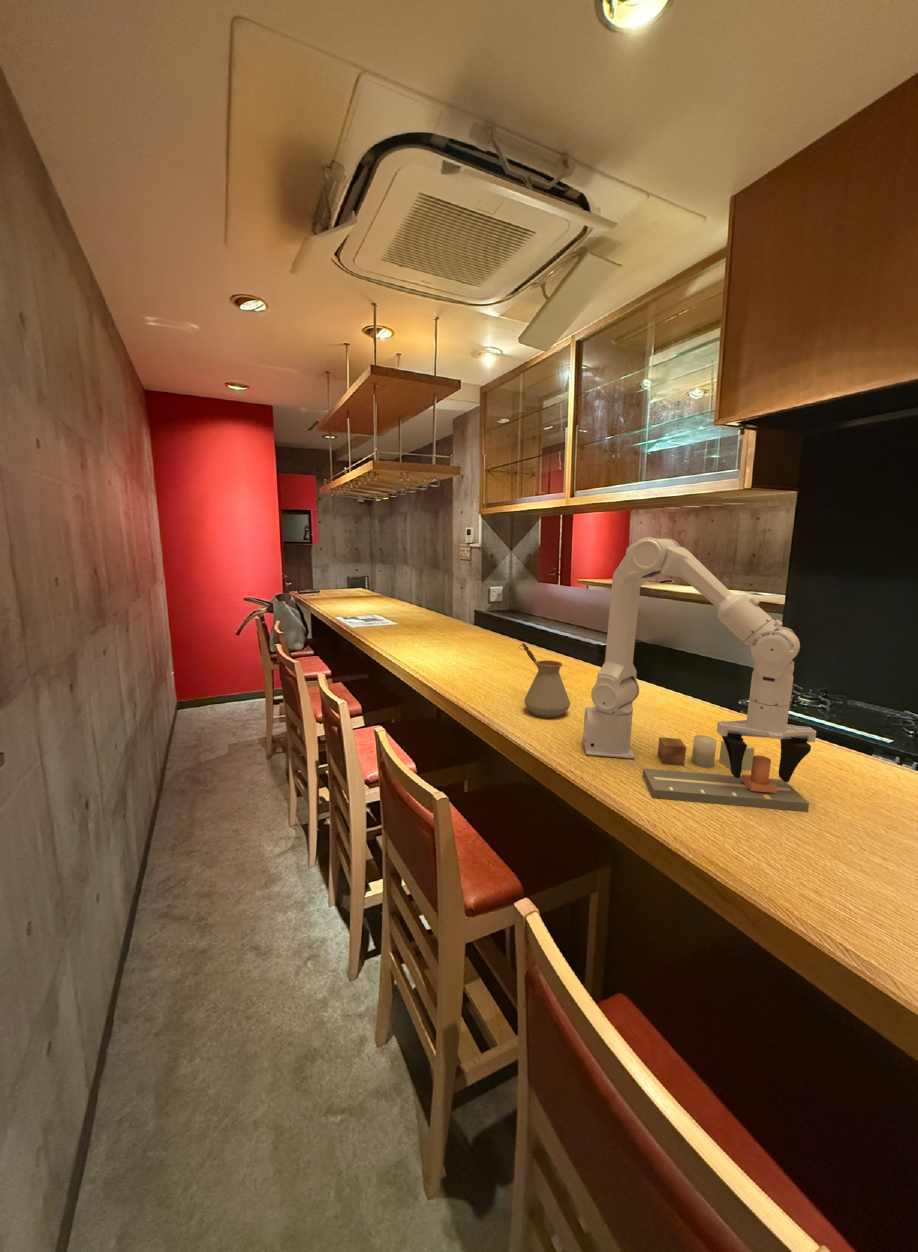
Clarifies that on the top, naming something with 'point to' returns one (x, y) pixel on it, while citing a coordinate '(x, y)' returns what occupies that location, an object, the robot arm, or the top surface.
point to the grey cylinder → (704, 751)
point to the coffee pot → (546, 690)
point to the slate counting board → (720, 790)
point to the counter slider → (759, 776)
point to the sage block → (746, 758)
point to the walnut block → (671, 751)
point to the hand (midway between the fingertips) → (759, 777)
